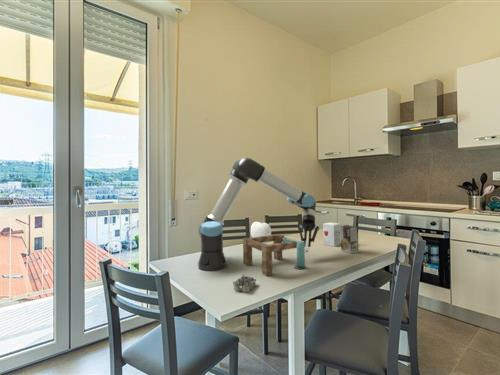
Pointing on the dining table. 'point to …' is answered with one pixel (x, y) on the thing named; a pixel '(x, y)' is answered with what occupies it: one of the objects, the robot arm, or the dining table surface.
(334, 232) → the supplement box
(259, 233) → the decorative heart
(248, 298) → the dining table surface
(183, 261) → the dining table surface
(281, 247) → the stool frame
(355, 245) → the coffee box
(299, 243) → the folding leg
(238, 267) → the dining table surface
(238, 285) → the grey knobbly lump
